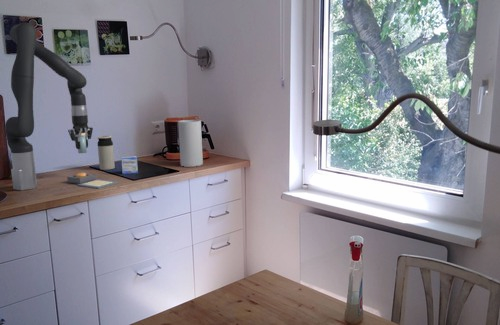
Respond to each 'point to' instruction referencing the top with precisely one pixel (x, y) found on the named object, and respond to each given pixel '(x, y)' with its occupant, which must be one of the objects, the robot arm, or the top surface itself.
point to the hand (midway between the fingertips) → (82, 148)
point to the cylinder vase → (190, 143)
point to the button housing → (80, 179)
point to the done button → (80, 174)
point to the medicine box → (129, 165)
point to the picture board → (97, 183)
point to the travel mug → (106, 153)
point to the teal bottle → (82, 144)
